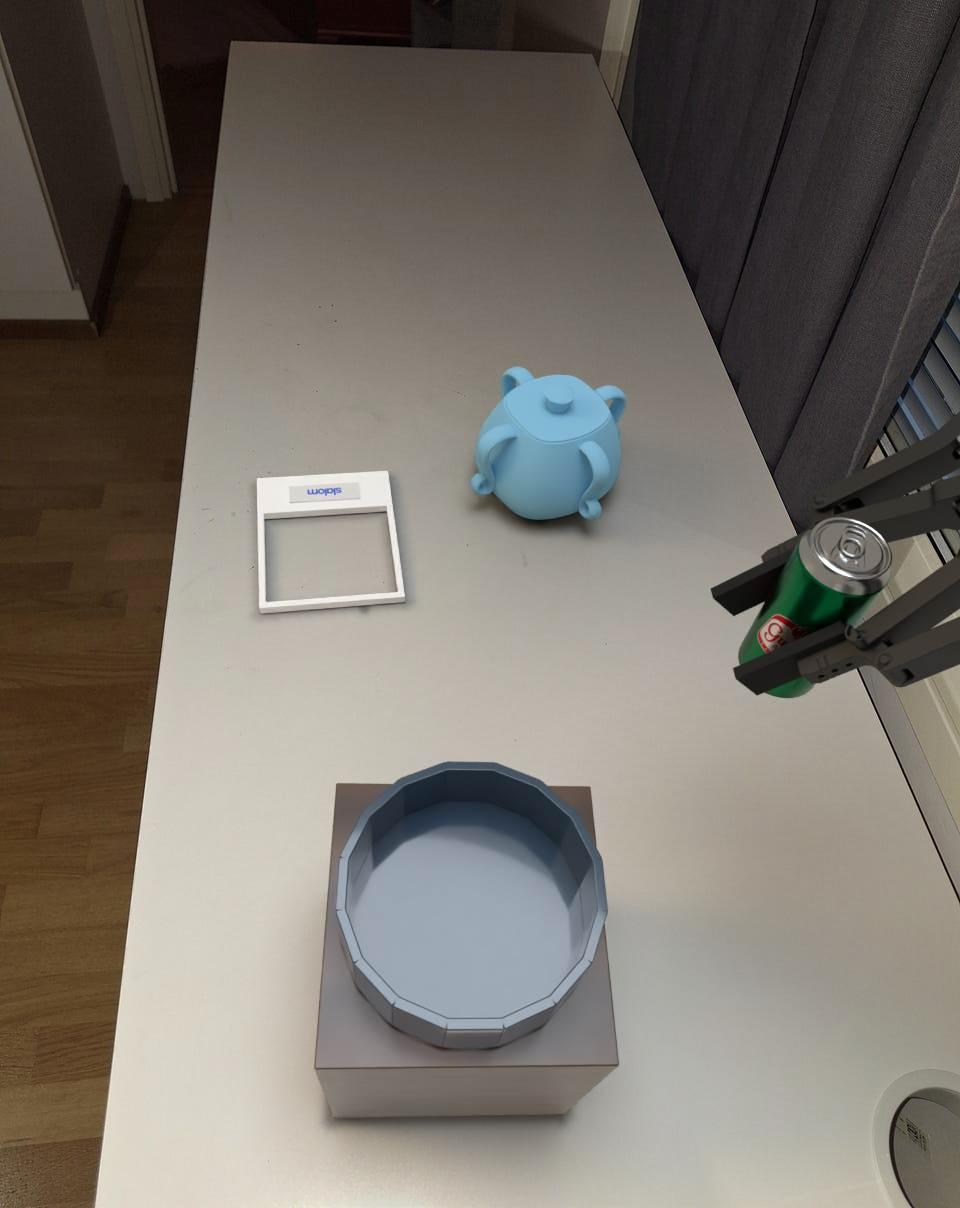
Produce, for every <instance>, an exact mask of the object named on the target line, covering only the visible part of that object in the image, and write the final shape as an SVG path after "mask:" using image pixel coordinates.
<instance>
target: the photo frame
mask: <svg viewBox="0 0 960 1208" xmlns="http://www.w3.org/2000/svg"><path fill="white" fill-rule="evenodd" d="M256 506H257V507H256V508H257V509H256V510H257V513H256V514H257V564H258V566H257V568H258V569H257V570H258V571H257V572H258V609H259V614H272V613H273V614H274V613H284V612H298V611H311V610H321V609H335V608H347V607H357V606H358V607H360V606H373V605H383V604H385V605H386V604H395V603H397V604H398V603H405V602H406V594H405V589H404V588H405V587H404V580H403V571H402V565H401V558H400V549H399V543H398V535H397V528H396V521H395V512H394V506H393V498H392V491H391V484H390V477H389V471H388V470H378V471H377V470H375V471H359V472H357V471H356V472H343V473H342V472H341V473H340V472H339V473H325V474H323V473H322V474H306V475H289V476H288V475H287V476H273V477H272V476H271V477H257V478H256ZM381 512H386V515H387V524H388V531H389V539H390V546H391V548H390V549H391V554H392V563H393V569H394V577H395V578H394V579H395V584H396V585H395V586H396V591H393V592H392V591H391V592H381V593H379V592H377V593H367V594H366V593H365V594H354V595H341V596H327V597H318V598H317V597H316V598H304V599H303V598H302V599H290V600H278V601H276V600H275V601H267V567H266V566H267V565H266V564H267V563H266V529H265V528H266V525H265V524H266V522H265V520H271V519H287V518H305V517H318V516H321V517H322V516H334V515H335V516H336V515H351V514H365V513H381Z"/></svg>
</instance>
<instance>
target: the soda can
mask: <svg viewBox="0 0 960 1208" xmlns="http://www.w3.org/2000/svg"><path fill="white" fill-rule="evenodd" d="M892 562H893V553H892V549H891V547H890V545H889V543H887V542H886V540H885V539H884V538H883V536H882V535H881V534H880V533H878V532H877V531H876V530H875V529H873V528H872V527H870V526H869V525H867V524H865V523H863V522H860V521H857V520H854V519H850V518H843V517H835V518H829V519H826V520H824V521H822V522H820V523H819V524H818V525H816V526H815V527H814V528H812V529H810V530H808V531H807V532H805V533H804V534H803V535H802V537H801V538H800V539H799V541H798V543H797V545H796V547H795V548H794V550H793V552H792V554H791V556H790V557H789V559H788V561H787V563H786V565H785V566H784V568H783V570H782V572H781V574H780V575H779V577H778V579H777V581H776V583H775V584H774V586H773V588H772V590H771V592H770V593H769V595H768V597H767V599H766V601H765V602H763V603H762V606H761V608H760V610H759V612H758V613H757V615H756V617H755V618H754V620H753V622H752V624H751V625H750V627H749V629H748V631H747V633H746V634H745V636H744V638H743V640H742V642H741V643H740V646H739V648H738V653H737V659H738V664H739V665H741V664H743V663H745V662H748V661H750V660H752V659H755V658H757V657H759V656H761V655H764V654H766V653H768V652H770V651H773V650H775V649H777V648H780V647H782V646H784V645H786V644H789V643H791V642H793V641H795V640H798V639H800V638H802V637H805V636H807V635H809V634H811V633H814V632H816V631H818V630H820V629H823V628H825V627H827V626H829V625H832V624H834V623H836V622H839V621H841V622H842V623H843V624H844V625H845V626H847V625H848V624H849V623H850V624H851V625H852V626H853V627H854V628H857V627H858V626H859V625H860V623H861V622H862V620H863V619H864V618H865V616H866V615H867V613H868V612H869V611H870V609H871V608H872V606H874V604H875V602H876V601H877V600H878V598H879V597H880V595H881V594H882V593H883V591H884V590H885V588H886V587H887V586H888V584H889V582H890V579H891V566H892ZM739 665H738V666H739ZM816 684H817V683H815V684H811V683H810V682H809V681H807V680H806V679H805V678H804V677H801V678H798V679H796V680H793V681H791V682H789V683H786V684H784V685H781V686H779V687H777V688H774V689H772V690H769V691H767V692H765V693H764V694H766V695H768V696H772V697H776V698H780V699H796V698H800V697H802V696H804V695H805V696H806V694H808V693H810V692H811V690H813V689H814V687H815V685H816Z"/></svg>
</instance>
